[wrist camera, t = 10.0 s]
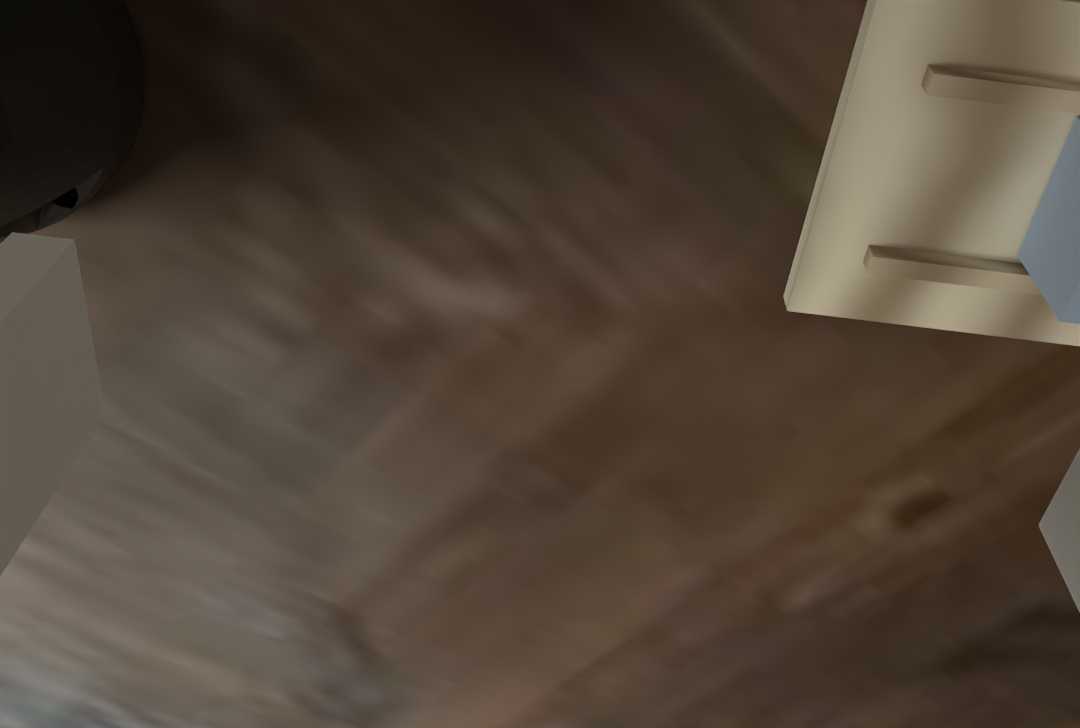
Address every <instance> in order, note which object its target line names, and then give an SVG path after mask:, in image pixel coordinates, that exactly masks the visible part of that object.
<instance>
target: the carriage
mask: <svg viewBox="0 0 1080 728" xmlns="http://www.w3.org/2000/svg"><path fill="white" fill-rule="evenodd" d="M1017 256H1018V257H1019V259H1020V261H1021V262H1022V264H1023V265H1024V267H1025V268H1026V270H1027V271H1028V273H1029V275H1030V276H1031V278H1032V279H1033V281H1034V282H1035V284H1036V286H1037V287H1038V289H1039V290H1040V292H1041V293H1042V295H1043V296H1044V298H1045V300H1046V301H1047V303H1048V304H1049V306H1050V307H1051V309H1052V311H1053V312H1054V314H1055V315H1056V317H1057V318H1058V320H1059V321H1060V322H1066V323H1075V324H1080V116H1076V118H1075V121H1074V123H1073V125H1072V128H1071V130H1070V132H1069V135H1068V137H1067V139H1066V142H1065V144H1064V146H1063V149H1062V151H1061V153H1060V156H1059V158H1058V160H1057V163H1056V165H1055V167H1054V170H1053V172H1052V174H1051V177H1050V179H1049V181H1048V184H1047V186H1046V188H1045V191H1044V193H1043V195H1042V198H1041V200H1040V202H1039V205H1038V207H1037V209H1036V212H1035V214H1034V216H1033V219H1032V221H1031V224H1030V226H1029V228H1028V231H1027V233H1026V235H1025V238H1024V240H1023V242H1022V245H1021V247H1020V249H1019V252H1018V254H1017Z"/></svg>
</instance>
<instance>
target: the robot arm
mask: <svg viewBox="0 0 1080 728" xmlns="http://www.w3.org/2000/svg"><path fill="white" fill-rule="evenodd" d="M142 103H143V75H142V65H141V59H140V53H139V49H138V44H137V40H136V37H135V33H134V30H133V27H132V24H131V21H130V19H129V16H128V13H127V11H126V8H125V6H124V4H123V2H122V0H0V242H2V243H1V244H0V576H1V574H2V572H3V571H4V569H5V568H6V566H7V565H8V563H9V562H10V560H11V559H12V557H13V556H14V554H15V553H16V551H17V549H18V548H19V546H20V545H21V543H22V542H23V540H24V539H25V537H26V536H27V534H28V533H29V531H30V529H31V528H32V526H33V525H34V523H35V522H36V520H37V519H38V517H39V516H40V514H41V513H42V511H43V509H44V508H45V506H46V505H47V503H48V502H49V500H50V499H51V497H52V496H53V494H54V493H55V491H56V490H57V488H58V486H59V485H60V483H61V482H62V480H63V479H64V477H65V476H66V474H67V473H68V471H69V470H70V468H71V466H72V465H73V463H74V462H75V460H76V459H77V457H78V456H79V454H80V453H81V451H82V450H83V448H84V447H85V445H86V443H87V442H88V440H89V439H90V437H91V436H92V434H93V433H94V431H95V430H96V428H97V427H98V425H99V423H100V422H101V420H102V419H103V417H104V416H105V414H106V412H105V407H104V401H103V395H102V390H101V384H100V379H99V373H98V368H97V362H96V357H95V351H94V345H93V340H92V334H91V329H90V323H89V318H88V312H87V306H86V301H85V295H84V290H83V284H82V279H81V273H80V268H79V262H78V256H77V251H76V245H75V240H73V239H65V238H57V237H48V236H40V235H32V234H28V233H31V232H34V231H38V230H40V229H43V228H45V227H48V226H50V225H52V224H55V223H57V222H59V221H61V220H62V219H64V218H66V217H67V216H69V215H70V214H72V213H74V212H75V211H76V210H78V209H79V208H80V207H82V206H83V205H84V204H85V203H86V202H87V201H89V200H90V199H91V198H92V197H93V196H94V195H95V194H96V193H97V191H98V190H99V189H100V188H101V187H102V186H103V185H104V184H105V183H106V182H107V181H108V180H109V179H110V178H111V176H112V175H113V174H114V173H115V172H116V171H117V169H118V168H119V167H120V165H121V164H122V163H123V161H124V159H125V158H126V156H127V154H128V152H129V150H130V148H131V146H132V144H133V142H134V139H135V136H136V133H137V130H138V126H139V122H140V118H141V111H142ZM1039 528H1040V530H1041V532H1042V534H1043V536H1044V538H1045V540H1046V542H1047V544H1048V547H1049V549H1050V551H1051V553H1052V555H1053V557H1054V559H1055V561H1056V563H1057V566H1058V568H1059V570H1060V572H1061V574H1062V576H1063V578H1064V580H1065V583H1066V585H1067V587H1068V589H1069V591H1070V593H1071V595H1072V597H1073V599H1074V602H1075V604H1076V606H1077V608H1078V610H1079V612H1080V449H1079V451H1078V453H1077V454H1076V456H1075V458H1074V460H1073V462H1072V464H1071V466H1070V467H1069V469H1068V471H1067V473H1066V475H1065V477H1064V479H1063V480H1062V482H1061V484H1060V486H1059V488H1058V490H1057V492H1056V493H1055V495H1054V497H1053V499H1052V501H1051V503H1050V505H1049V506H1048V508H1047V510H1046V512H1045V514H1044V516H1043V518H1042V519H1041V521H1040V523H1039Z"/></svg>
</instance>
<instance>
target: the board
mask: <svg viewBox="0 0 1080 728" xmlns="http://www.w3.org/2000/svg"><path fill="white" fill-rule="evenodd" d="M1076 116H1080V0H867V3H866V7H865V10H864V14H863V17H862V21H861V25H860V28H859V32H858V35H857V39H856V42H855V46H854V49H853V53H852V56H851V60H850V63H849V67H848V70H847V74H846V77H845V81H844V84H843V88H842V92H841V95H840V99H839V102H838V106H837V109H836V113H835V116H834V120H833V123H832V127H831V130H830V134H829V137H828V141H827V144H826V148H825V151H824V155H823V159H822V162H821V166H820V169H819V173H818V176H817V180H816V183H815V187H814V190H813V194H812V197H811V201H810V204H809V208H808V211H807V215H806V218H805V222H804V226H803V229H802V233H801V236H800V240H799V243H798V247H797V250H796V254H795V257H794V261H793V264H792V268H791V271H790V275H789V278H788V282H787V285H786V289H785V293H784V300H785V304H786V308H787V311H793V312H801V313H809V314H818V315H826V316H834V317H842V318H851V319H859V320H867V321H876V322H884V323H892V324H900V325H909V326H917V327H925V328H934V329H942V330H950V331H958V332H967V333H975V334H983V335H992V336H1000V337H1008V338H1016V339H1025V340H1033V341H1041V342H1050V343H1058V344H1066V345H1074V346H1080V324H1075V323H1066V322H1060V321H1059V320H1058V318H1057V317H1056V315H1055V314H1054V312H1053V311H1052V309H1051V307H1050V306H1049V304H1048V303H1047V301H1046V300H1045V298H1044V296H1043V295H1042V293H1041V292H1040V290H1039V289H1038V287H1037V286H1036V284H1035V282H1034V281H1033V279H1032V278H1031V276H1030V275H1029V273H1028V271H1027V270H1026V268H1025V267H1024V265H1023V264H1022V262H1021V261H1020V259H1019V257H1018V256H1017V254H1018V252H1019V249H1020V247H1021V245H1022V242H1023V240H1024V238H1025V235H1026V233H1027V231H1028V228H1029V226H1030V224H1031V221H1032V219H1033V216H1034V214H1035V212H1036V209H1037V207H1038V205H1039V202H1040V200H1041V198H1042V195H1043V193H1044V191H1045V188H1046V186H1047V184H1048V181H1049V179H1050V177H1051V174H1052V172H1053V170H1054V167H1055V165H1056V163H1057V160H1058V158H1059V156H1060V153H1061V151H1062V149H1063V146H1064V144H1065V142H1066V139H1067V137H1068V135H1069V132H1070V130H1071V128H1072V125H1073V123H1074V121H1075V118H1076Z"/></svg>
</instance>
